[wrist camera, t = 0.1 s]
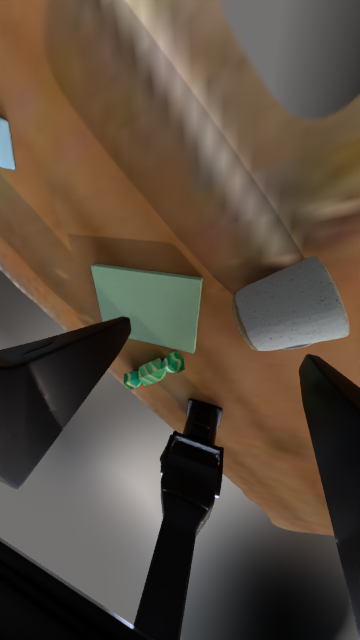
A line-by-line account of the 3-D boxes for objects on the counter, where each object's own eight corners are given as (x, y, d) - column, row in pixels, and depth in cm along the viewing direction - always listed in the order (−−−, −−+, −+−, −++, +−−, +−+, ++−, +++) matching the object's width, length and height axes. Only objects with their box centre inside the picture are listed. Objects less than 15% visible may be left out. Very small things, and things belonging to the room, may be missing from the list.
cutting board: (195, 348, 29) (193, 353, 28) (109, 329, 33) (104, 332, 32) (203, 277, 23) (201, 280, 22) (96, 263, 27) (90, 265, 26)
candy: (169, 347, 29) (170, 372, 27) (183, 352, 31) (185, 376, 29) (124, 367, 35) (122, 389, 33) (139, 371, 37) (138, 391, 35)
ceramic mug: (230, 284, 22) (224, 313, 16) (306, 247, 18) (338, 267, 12) (264, 349, 25) (271, 395, 19) (336, 330, 21) (375, 380, 15)
